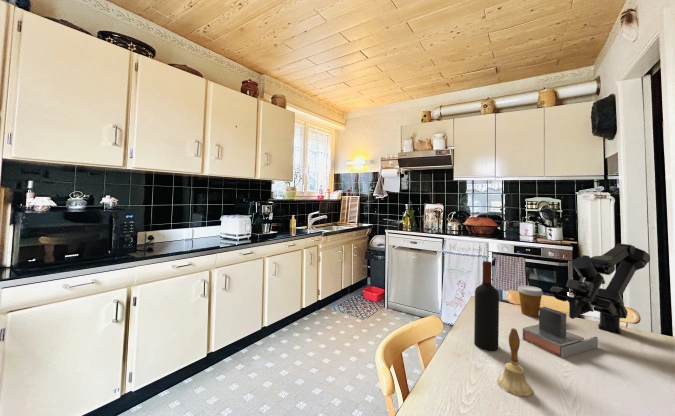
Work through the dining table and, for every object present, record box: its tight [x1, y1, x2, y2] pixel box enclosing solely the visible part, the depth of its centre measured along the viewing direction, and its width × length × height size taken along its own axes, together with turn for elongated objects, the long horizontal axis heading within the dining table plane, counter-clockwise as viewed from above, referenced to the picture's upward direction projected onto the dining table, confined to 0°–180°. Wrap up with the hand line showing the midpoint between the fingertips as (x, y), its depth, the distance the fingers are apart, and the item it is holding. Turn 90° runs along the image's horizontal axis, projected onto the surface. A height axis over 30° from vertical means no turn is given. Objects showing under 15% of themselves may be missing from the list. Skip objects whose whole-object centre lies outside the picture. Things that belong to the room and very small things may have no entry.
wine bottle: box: [473, 260, 500, 352], centre depth 96 cm, size 8×8×30 cm
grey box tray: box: [522, 329, 599, 359], centre depth 98 cm, size 19×13×4 cm
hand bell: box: [496, 328, 534, 397], centre depth 75 cm, size 8×8×16 cm
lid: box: [522, 306, 585, 346], centre depth 97 cm, size 13×13×9 cm
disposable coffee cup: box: [517, 284, 544, 318], centre depth 124 cm, size 10×10×12 cm
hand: (570, 317), depth 101 cm, fingers closed
